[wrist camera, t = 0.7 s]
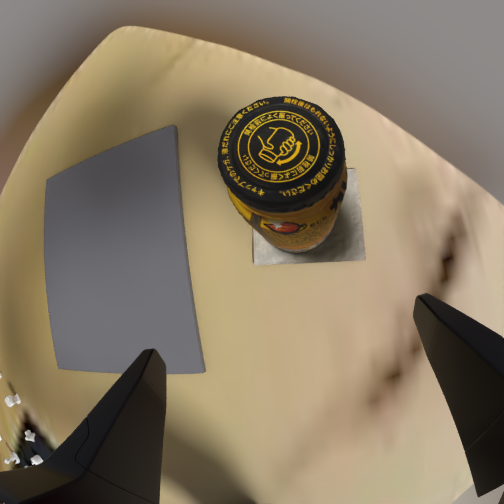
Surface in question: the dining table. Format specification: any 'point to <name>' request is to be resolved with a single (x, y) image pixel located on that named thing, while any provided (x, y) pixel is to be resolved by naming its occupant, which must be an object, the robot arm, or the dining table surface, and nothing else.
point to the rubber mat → (120, 260)
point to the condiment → (292, 183)
